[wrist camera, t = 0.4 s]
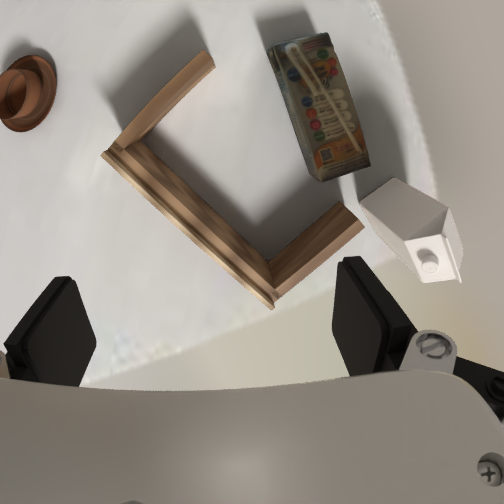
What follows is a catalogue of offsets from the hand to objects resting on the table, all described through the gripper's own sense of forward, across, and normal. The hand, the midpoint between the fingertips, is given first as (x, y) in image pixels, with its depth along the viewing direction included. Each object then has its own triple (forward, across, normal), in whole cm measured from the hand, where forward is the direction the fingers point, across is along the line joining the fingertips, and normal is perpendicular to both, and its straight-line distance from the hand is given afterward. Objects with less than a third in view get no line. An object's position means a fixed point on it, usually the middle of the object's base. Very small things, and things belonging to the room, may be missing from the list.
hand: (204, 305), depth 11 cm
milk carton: (+36, -24, +9) cm, 44 cm away
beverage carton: (+36, -13, -6) cm, 39 cm away
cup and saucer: (+36, +29, -14) cm, 48 cm away
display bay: (+35, -2, +3) cm, 36 cm away
